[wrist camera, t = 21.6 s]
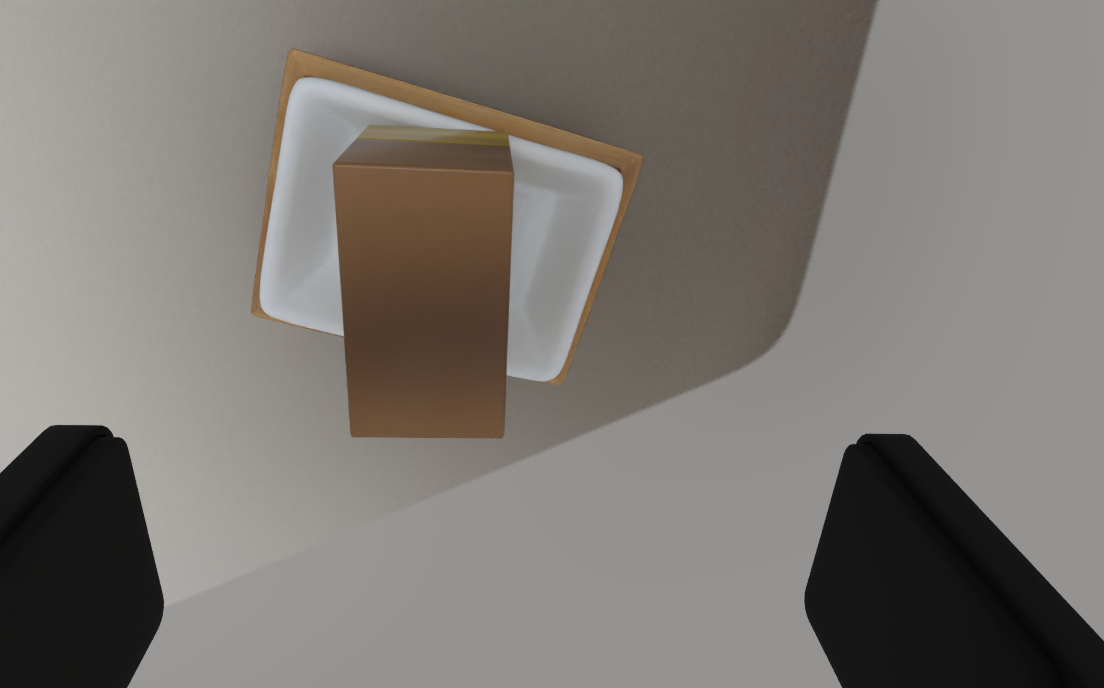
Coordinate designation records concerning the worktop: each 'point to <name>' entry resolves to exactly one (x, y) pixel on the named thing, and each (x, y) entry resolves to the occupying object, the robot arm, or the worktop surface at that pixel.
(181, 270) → the worktop surface
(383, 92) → the soap dish
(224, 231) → the worktop surface
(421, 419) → the scrub brush
